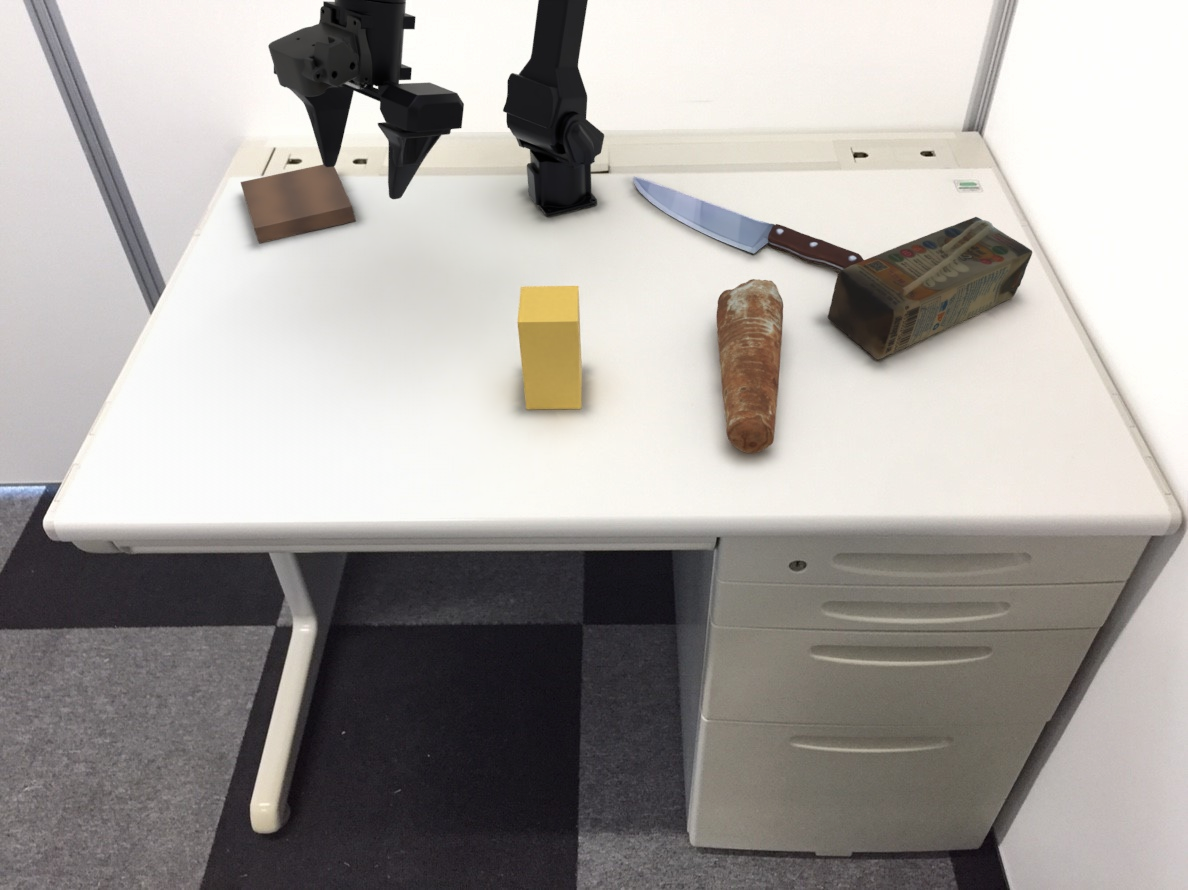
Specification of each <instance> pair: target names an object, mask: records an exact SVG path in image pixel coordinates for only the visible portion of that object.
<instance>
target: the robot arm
mask: <svg viewBox="0 0 1188 890" xmlns="http://www.w3.org/2000/svg"><path fill="white" fill-rule="evenodd" d="M406 1H407V0H334V1H325V0H323V2H322V3H323V4H322V5H321V7H320V9H319V21H318V23H316V24H314V25H311V26H306V27H302V28H300V29H298V30H295V31H293V32H291V33H289V34H286V35H284V36H282V37H280V38H278V39H275V40H273V41H271V42H270V43H269V44H268V46H267V47H268V51H269V53H270V57H271V60H272V64H273V74H274V75H276V77H277V81H278V84H279V85H280V86H281V87H283V88H287V89H289V90H290V91H291V92H292V93H293V94H294V95H295V96H296V97H297V98H298V99H299V100H300V101H301V102H302V103H303V105H304V107H305V110H306V112H307V115H308V119H309V121H310V125H311V127H312V131H313V134H314V138H315V141H316V145H317V148H318V151H319V156H320V158H321V162H322V165H324V166H325V167H336V165H337V163H338V159H339V155H340V152H341V149H342V143H343V140H344V137H345V131H346V128H347V127H346V126H347V123H348V118H349V113H350V109H351V106H352V101H353V98H354V97H353V96H354V92H356V93H358V94H360V95H363V96H365V97H368V98H370V99H372V100H375V101H378V102H379V111H380V113H381V116H382V117H383V119H384V121H385V122H384V121H383V122H377V126H378V128H379V130H381V132H382V133H383V135H384V136H385V138H386V139H387V141H388V148H387V149H388V150H387V151H388V155H387V156H388V157H387V159H388V161H387V162H388V163H387V186H388V187H387V188H388V198H390V199H391V200H399V199H401V198H402V197H403V196H404V193H405V192H406V190H407V189H408V187H409V185H410V183H411V182H412V180H413V178H414V177H415V176H416V173H417V172H418V170H419V168H420V166H421V165H422V164H423V162H424V161H425V159H426V157H427V156H428V154H429V153H430V151H432V149H433V148H434V146H435V145H436V143H437V142H438V141H439V140H440V138H441V136H447V135H450V134H451V132H452V130H457V129H458V130H459V129H462V128H463V118H464V108H465V107H464V106H465V104H464V101H463V100H462V98H461V97H460V95H459V94H458V92H456V91H453V90H451V89H447V88H445V87H443V86H440V85H437V84H434V83H432V82H408V83H407V82H406V83H400V81H411V80H412V73H413V72H412V69H413V67H411V66H408V65H405V64H403V51H404V36H405V30H415V29H416V19H417V18H416V16H415V15H412V14H409V13H407V12H406V5H407V2H406ZM588 1H589V0H538V1H537V9H536V17H535V24H534V25H535V26H534V32H533V39H532V40H533V41H532V48H531V54H530V58H529V60H528V61H527V62H526V63H525V65H524V66H523V68H522V69H521V71H520V72H519V73H514V72H512V73H510V74H509V76H508V78H507V82H506V83H507V84H506V85H507V86H506V87H507V88H506V90H507V91H506V92H507V93H506V99H505V103H504V106H503V108H502V112H503V113H506V117H505V118H506V126H507V127H506V128H507V129H509V131H510V132H511V134H512V135H513V137H515V139H516V142H517V144H518V146H519V147H520V148H523V149H524V148H525V149H527V150H529V155H530V156H529V157H530V158H529V159H530V162H528V163H527V164H526V175H527V176H526V177H527V187H528V188H527V192H528V196H529V198H530V199H531V200H532V201H533V203H534V204H535V205H536V206H537V207H538V208H539V209H540V211H541V212H542V213H543V215H544V216H545V217H553V216H558V215H561V214H566V213H570V212H574V211H577V210H582V209H586V208H591V207H594V206H597V205H598V199H597V198H596V197H595V195H594V194H593V193H592V164H594V163H595V162H596V161H595V159H596V157H597V156H599V155H600V154H601V153H602V149H603V145H604V141H605V133H603V132H602V131H601V130H600V129H599V128H598V127H596V126H595V125H594V124H592V122H591V121H589V120H588V119H587V114H588V113H587V112H588V110H587V109H588V93H587V89H586V88H585V85H584V80H583V78H582V75H581V71H580V69H579V61H580V60H579V59H580V53H581V47H582V41H583V33H584V27H585V21H586V15H587V8H588Z"/></svg>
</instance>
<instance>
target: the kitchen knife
mask: <svg viewBox="0 0 1188 890" xmlns="http://www.w3.org/2000/svg"><path fill="white" fill-rule="evenodd" d="M632 180H633V183H634V185H635V187H636V189H637V190H638V192H639V193H640V194H641V195H642V196H643V197H644V198H645V199H646V200H648V201H649V202H650V203H651V204H652V205H654V206H655V207H656V208H658V209H659V210H661V212H664V214H666V215H668V216H670V217H672V218H674V219H675V220H677V221H678V222H680V223H683V224H684V225H686V226H688V227H689V228H691V229H694V230H695V231H698V232H700V233H702V234H704V235H706V236H709V237H710V238H713V239H715V240H717V241H720V242H722V243H724V244H727V245H730V246H732V247H735V248H737V249H739V250H743V251H745V252H748V253H751V254H755V253H757V252H758V251H759V250H761V249H762V248H763V247H764V246H766V245H767V244H768V246H769V247H770V248H773V249H775V250H779V251H782V252H785V253H789V254H791V255H793V256H795V257H797V258H800V259H801V260H803V261H806V262H808V263H813V264H818V265H823V266H826V267H829V268H832V269H835V270H837V271H838V272H839V271H840V270H843V269H845V268H847V267H849V266H851V265H854V264H856V263H859V262H861V261H863V260H864V257H863V256H862V255H861V254H859V253H858V252H855V251H852V250H849V249H847V248H844V247H842V246H839V245H836V244H833V243H831V242H828V241H825V240H824V239H820V238H817V237H813V236H811V235H808V234H805V233H803V232H800V231H797V230H795V229H793V228H790V227H787V226H785V225H782V224H778V223H775V224H774V223H769V222H765V221H762V220H759V219H756V218H753V217H750V216H748V215H745V214H743V213H740V212H736V211H734V210H731V209H728V208H726V207H724V206H723V207H722V206H720V205H717V204H715V203H712V202H708V201H706V200H703V199H701V198H698V197H695V196H692V195H689V194H687V193H684V192H681V191H679V190H675V189H673V188H670V187H667V186H664V185H661V184H659V183H657V182H654V181H651V180H648V179H645V178H642V177H638V176H633V178H632Z"/></svg>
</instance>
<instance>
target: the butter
mask: <svg viewBox="0 0 1188 890" xmlns="http://www.w3.org/2000/svg"><path fill="white" fill-rule="evenodd" d="M579 288H580V287H579V285H536V286H533V285H531V286H530V285H529V286H520V291H519V300H518V301H519V302H518V312H517V323H516V324H517V331H518V341H519V350H520V363H521V372H522V381H523V391H524V401H525V409H526V410H573V409H574V410H581V409H582V392H583V391H582V390H583V387H582V386H583V367H582V366H583V365H582V362H583V361H582V342H581V341H582V339H581V337H582V336H581V314H580V289H579Z"/></svg>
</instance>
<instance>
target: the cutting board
mask: <svg viewBox="0 0 1188 890" xmlns="http://www.w3.org/2000/svg"><path fill="white" fill-rule="evenodd" d="M240 186H241V190H242V193H243V196H244V200H245V204H246V206H247V210H248V213H249V216H250V219H251V223H252V227H253V230H254V233H255V235H256V239H257V242H258V244H262V243H266V242H272V241H275V240H279V239H283V238H284V239H285V238H288V237H292V236H296V235H301V234H305V233H310V232H314V231H318V230H322V229H327V228H332V227H336V226H340V225H344V224H349V223H354V222H356V217H355V212H354V208H353V205H352V203H351V201H350V198H349V196H348V194H347V191H346V189H345V187H344V185H343V182H342V179H341V178H340V176H339V173H338V171H337V169H336V166H334V167H325V166H324V165H323V164H319V165H314V166H310V167H305V168H299V169H296V170H295V169H294V170H291V171H285V172H281V173H277V174H273V175H266V176H263V177H258V178H253V179H247V180H244V181H240Z"/></svg>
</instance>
